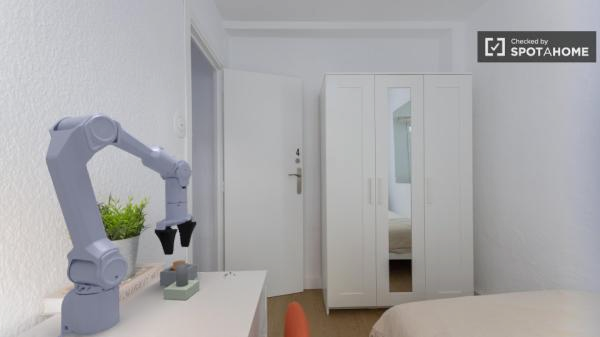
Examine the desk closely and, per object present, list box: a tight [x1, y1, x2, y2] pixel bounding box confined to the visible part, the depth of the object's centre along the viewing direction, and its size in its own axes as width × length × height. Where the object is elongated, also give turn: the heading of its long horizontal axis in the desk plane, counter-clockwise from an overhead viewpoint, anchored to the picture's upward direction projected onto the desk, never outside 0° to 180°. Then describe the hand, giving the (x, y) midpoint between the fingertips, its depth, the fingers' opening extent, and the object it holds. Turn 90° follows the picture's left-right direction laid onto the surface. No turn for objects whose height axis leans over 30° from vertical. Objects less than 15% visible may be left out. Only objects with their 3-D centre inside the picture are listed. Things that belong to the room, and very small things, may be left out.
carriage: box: [163, 262, 200, 301], centre depth 68 cm, size 6×6×7 cm
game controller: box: [222, 271, 236, 279], centre depth 80 cm, size 6×12×3 cm, turn 100°
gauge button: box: [172, 259, 186, 271], centre depth 77 cm, size 3×3×4 cm
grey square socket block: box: [159, 263, 198, 287], centre depth 77 cm, size 7×7×5 cm
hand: (177, 250), depth 76 cm, fingers open, 7 cm apart
